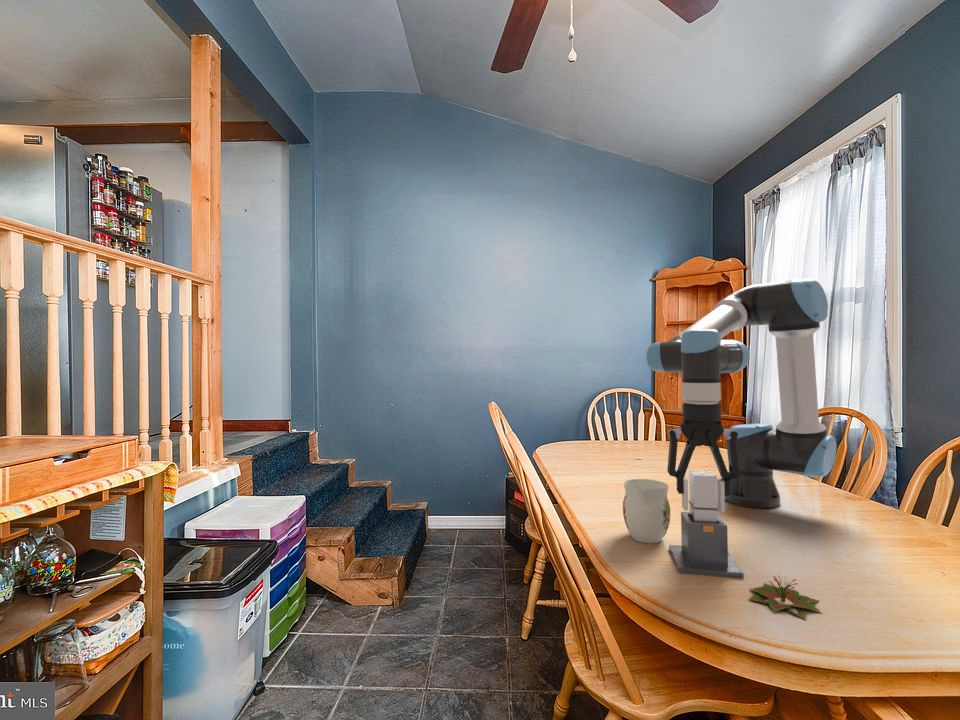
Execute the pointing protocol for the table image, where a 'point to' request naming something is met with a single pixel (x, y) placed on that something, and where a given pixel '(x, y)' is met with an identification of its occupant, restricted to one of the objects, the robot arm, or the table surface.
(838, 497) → the table surface
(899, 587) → the table surface
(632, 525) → the pitcher
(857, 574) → the table surface
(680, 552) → the stand
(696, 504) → the column
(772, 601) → the lily flower
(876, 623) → the table surface
